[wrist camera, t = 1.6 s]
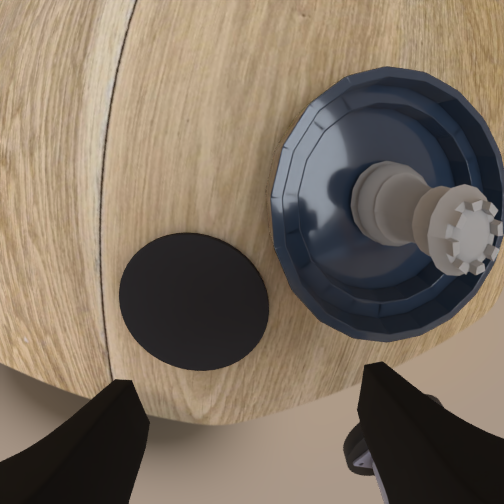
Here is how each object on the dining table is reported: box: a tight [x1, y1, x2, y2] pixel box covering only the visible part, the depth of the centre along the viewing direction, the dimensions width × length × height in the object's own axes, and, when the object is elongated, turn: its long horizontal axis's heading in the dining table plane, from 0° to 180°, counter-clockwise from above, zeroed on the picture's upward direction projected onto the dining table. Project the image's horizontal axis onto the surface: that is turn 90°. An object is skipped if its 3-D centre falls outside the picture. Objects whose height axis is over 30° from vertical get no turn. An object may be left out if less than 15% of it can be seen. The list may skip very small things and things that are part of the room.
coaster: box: [119, 233, 269, 371], centre depth 17 cm, size 9×9×1 cm
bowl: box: [266, 66, 504, 342], centre depth 14 cm, size 13×13×4 cm
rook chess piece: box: [351, 161, 503, 276], centre depth 11 cm, size 4×4×8 cm
